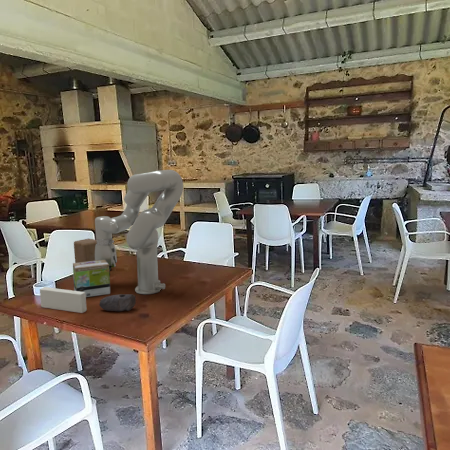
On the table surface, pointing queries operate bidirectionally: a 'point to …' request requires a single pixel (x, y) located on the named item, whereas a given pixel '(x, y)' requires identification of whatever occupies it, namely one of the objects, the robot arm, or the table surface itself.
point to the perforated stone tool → (118, 302)
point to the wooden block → (84, 250)
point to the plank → (63, 299)
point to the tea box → (92, 277)
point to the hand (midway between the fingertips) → (106, 277)
